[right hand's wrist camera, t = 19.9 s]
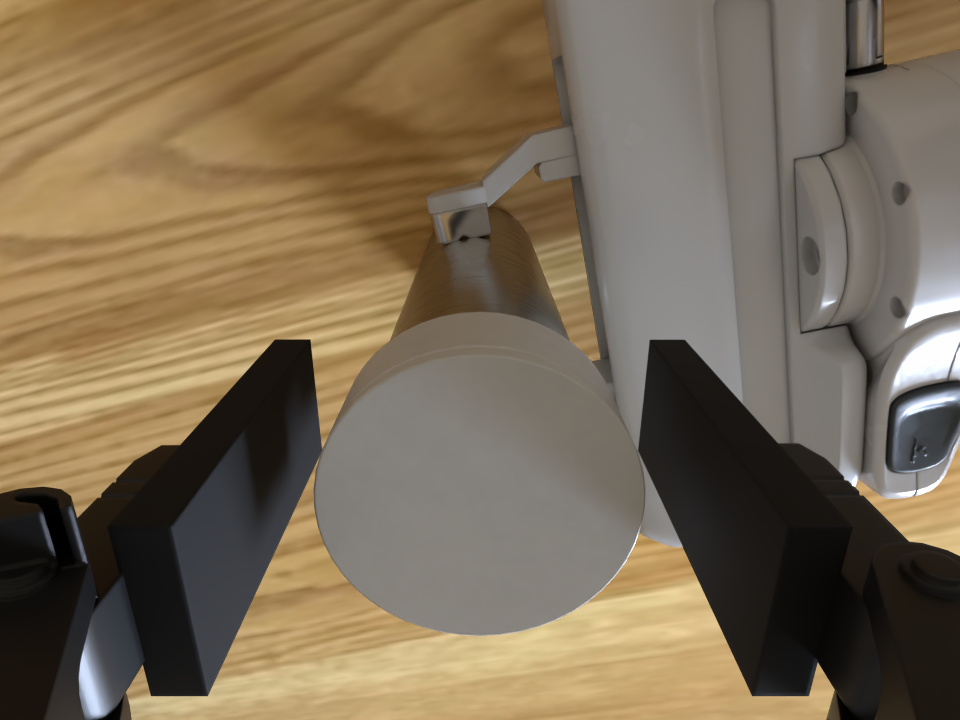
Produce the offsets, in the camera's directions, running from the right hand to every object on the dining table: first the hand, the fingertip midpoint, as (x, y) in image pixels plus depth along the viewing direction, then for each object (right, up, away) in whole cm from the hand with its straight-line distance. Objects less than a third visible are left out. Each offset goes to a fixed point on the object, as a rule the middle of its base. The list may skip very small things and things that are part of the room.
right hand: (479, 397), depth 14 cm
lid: (0, -1, -4) cm, 4 cm away
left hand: (-1, +3, +7) cm, 8 cm away
